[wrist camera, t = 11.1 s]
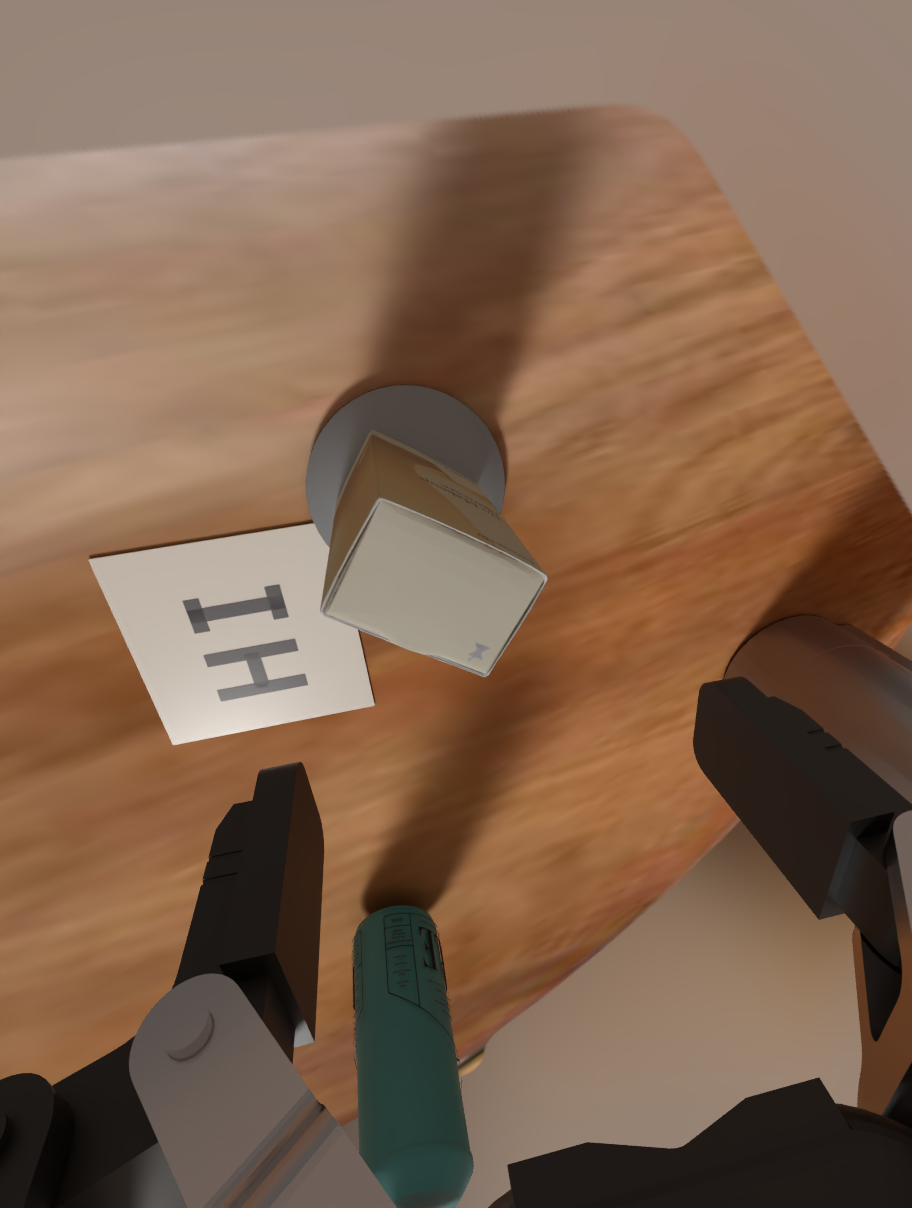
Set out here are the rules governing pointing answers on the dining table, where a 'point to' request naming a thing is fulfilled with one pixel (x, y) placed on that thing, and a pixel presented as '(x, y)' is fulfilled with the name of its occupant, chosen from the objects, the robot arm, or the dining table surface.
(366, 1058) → the beverage bottle
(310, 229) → the dining table surface
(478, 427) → the slate coaster
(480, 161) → the dining table surface
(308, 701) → the card
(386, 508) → the skincare box
